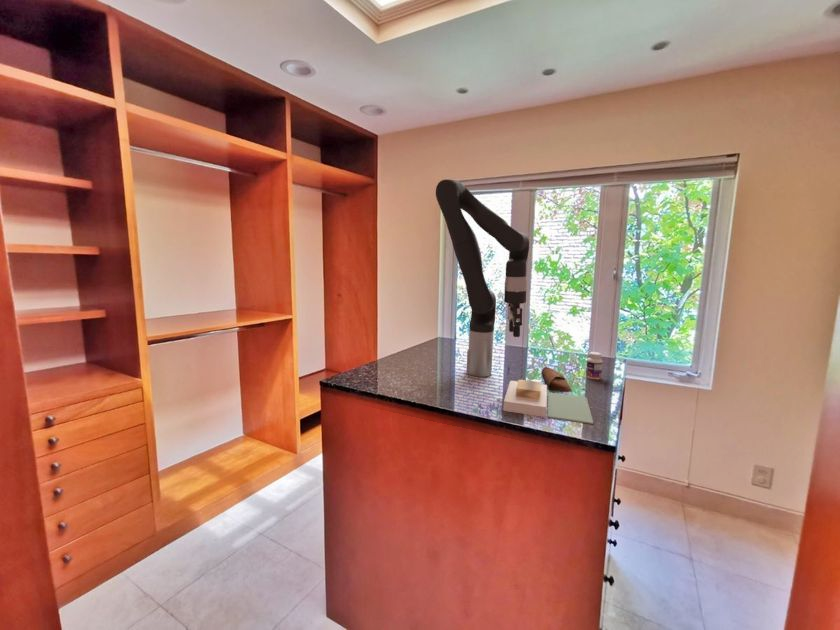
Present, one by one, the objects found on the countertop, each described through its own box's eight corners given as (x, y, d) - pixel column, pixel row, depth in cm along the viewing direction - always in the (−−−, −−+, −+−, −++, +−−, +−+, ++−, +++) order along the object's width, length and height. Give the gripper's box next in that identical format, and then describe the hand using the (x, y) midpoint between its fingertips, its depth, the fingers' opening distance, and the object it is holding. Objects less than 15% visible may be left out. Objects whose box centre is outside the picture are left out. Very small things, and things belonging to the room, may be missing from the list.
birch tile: (515, 396, 114) (516, 388, 114) (518, 386, 122) (518, 379, 122) (539, 399, 112) (540, 391, 111) (540, 389, 120) (540, 382, 120)
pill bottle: (582, 375, 146) (585, 351, 144) (596, 375, 146) (598, 351, 144) (590, 379, 140) (592, 355, 139) (603, 379, 141) (606, 354, 139)
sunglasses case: (574, 392, 127) (565, 375, 126) (555, 400, 128) (545, 384, 128) (563, 375, 144) (555, 360, 144) (546, 383, 146) (538, 368, 146)
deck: (503, 410, 110) (503, 401, 110) (509, 388, 129) (510, 380, 129) (545, 417, 107) (546, 407, 106) (546, 393, 125) (546, 384, 125)
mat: (547, 417, 106) (547, 416, 106) (547, 393, 125) (547, 392, 125) (593, 424, 103) (593, 422, 102) (586, 398, 121) (586, 397, 121)
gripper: (501, 287, 139) (500, 330, 141) (507, 291, 125) (506, 338, 127) (522, 287, 138) (520, 330, 141) (530, 291, 124) (529, 338, 127)
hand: (514, 334), depth 134 cm, fingers open, 8 cm apart
